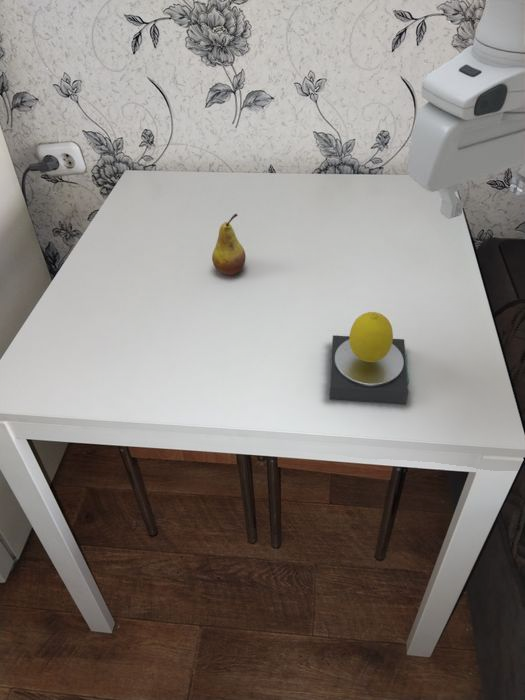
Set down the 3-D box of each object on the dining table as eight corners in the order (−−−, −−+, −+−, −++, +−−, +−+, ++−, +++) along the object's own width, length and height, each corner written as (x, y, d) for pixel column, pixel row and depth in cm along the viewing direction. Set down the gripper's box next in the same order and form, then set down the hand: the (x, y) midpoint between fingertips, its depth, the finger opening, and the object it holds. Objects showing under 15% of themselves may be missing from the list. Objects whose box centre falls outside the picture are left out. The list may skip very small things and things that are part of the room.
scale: (404, 352, 85) (406, 339, 83) (407, 405, 78) (410, 392, 76) (331, 348, 86) (332, 335, 84) (329, 400, 79) (330, 387, 77)
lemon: (387, 346, 81) (394, 301, 76) (390, 375, 77) (397, 330, 72) (347, 344, 82) (351, 299, 76) (347, 373, 78) (351, 328, 72)
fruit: (244, 258, 102) (239, 196, 94) (248, 278, 98) (244, 215, 90) (212, 262, 102) (205, 200, 94) (215, 282, 98) (208, 219, 90)
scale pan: (401, 340, 83) (402, 337, 82) (405, 389, 76) (405, 386, 76) (335, 337, 84) (335, 334, 83) (333, 384, 77) (333, 381, 77)
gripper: (575, 41, 60) (537, 168, 69) (407, 82, 54) (391, 214, 64) (627, 59, 56) (579, 191, 65) (451, 106, 50) (427, 243, 60)
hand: (485, 203), depth 64 cm, fingers open, 8 cm apart
